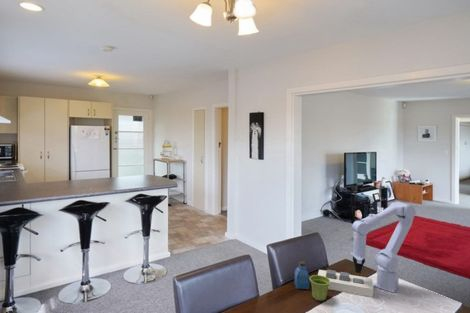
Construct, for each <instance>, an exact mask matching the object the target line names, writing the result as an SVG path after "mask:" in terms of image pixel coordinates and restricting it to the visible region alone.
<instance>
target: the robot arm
mask: <svg viewBox="0 0 470 313" xmlns="http://www.w3.org/2000/svg"><path fill="white" fill-rule="evenodd" d="M416 214H417V212H416V208H415V206H414V205H412V204H408V203H404V202H401V201H399V200H396V201H394V202H391V203H390V205H389V206H387V207H386V208H384V209H383V210H381V211H380V212H378V213H376V214H375V213H369V214H368V215H367V216H366V217H365V218H361V219H360V220H355V221H354V222H353V223H352V225H351V230H352V232H353V242H352V243H353V244H352V246H353V247H352V252H350V256H352V261H353V263H354V269H355V273H356V274H361V273H362V269H363V266H364V264H365V263H366V257H367V256H366V248H367V246H366V244H367V235H368V234H369V232H370V231H371V229H373V228H375V227H377V226H379V225H380V224H381V221H383V220H385V219H388V218H390V217H392V216H395V217H396V218H397V220H398V223H397V225H396V226H395V229H394V231H393V233H392V235H391V237H390V239H389V240H388V243H387V244H386V246H385V248H383V249H381V250H380V251H379V252H378V253H377V254H376V255H375V257H374V263H375V264H376V267H377V269H376V270H377V273H376V274H377V275H376V282H375V283H374V284H373V287H375V288H379V289H382V290H384V291H387V292H391V293H395V292H396V291H397V290H398V289H399V280H400V279H399V275H400V274H399V272H396V270H397V269H398V263H399V257H398V252H399V251H400V248H401V246H402V245H403V243H404V240H406V237H407V235H408V233H409V231H410V230H411V229H410V228H411V227H412V225H413V221H414V218H415V216H416Z"/></svg>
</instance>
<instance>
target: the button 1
mask: <svg viewBox="0 0 470 313" xmlns="http://www.w3.org/2000/svg"><path fill="white" fill-rule="evenodd" d="M326 271H327V273H326V277H327V278H331V279H336V273H337V271H336V270H333V269H326Z"/></svg>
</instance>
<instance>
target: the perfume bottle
mask: <svg viewBox="0 0 470 313" xmlns="http://www.w3.org/2000/svg"><path fill="white" fill-rule="evenodd" d="M298 262H299V264H298V266H297V267H296V269H295V270H294V281H293V283H294V285H295V289H296V290H297V289H298V290H309V289H310V277H311V276H310V275H309V271H308V270H307V268H306V267H307V264H306V262H305V261H303V260H301V261H298Z"/></svg>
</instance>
